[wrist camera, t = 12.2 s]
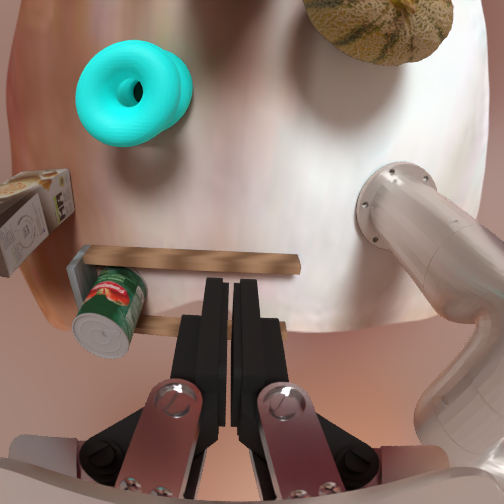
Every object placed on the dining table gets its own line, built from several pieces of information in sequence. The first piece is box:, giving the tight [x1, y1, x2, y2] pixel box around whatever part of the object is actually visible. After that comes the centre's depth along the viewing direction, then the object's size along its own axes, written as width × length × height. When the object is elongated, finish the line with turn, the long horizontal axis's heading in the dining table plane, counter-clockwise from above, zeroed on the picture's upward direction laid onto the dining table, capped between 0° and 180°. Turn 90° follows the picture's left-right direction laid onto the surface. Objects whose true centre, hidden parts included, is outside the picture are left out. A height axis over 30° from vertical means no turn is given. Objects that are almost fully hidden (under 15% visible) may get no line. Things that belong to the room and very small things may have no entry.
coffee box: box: [0, 169, 75, 278], centre depth 28 cm, size 9×6×16 cm
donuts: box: [76, 40, 193, 147], centre depth 26 cm, size 10×10×10 cm
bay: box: [66, 245, 301, 341], centre depth 41 cm, size 30×13×6 cm, turn 86°
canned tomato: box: [72, 266, 147, 359], centre depth 38 cm, size 8×8×11 cm
